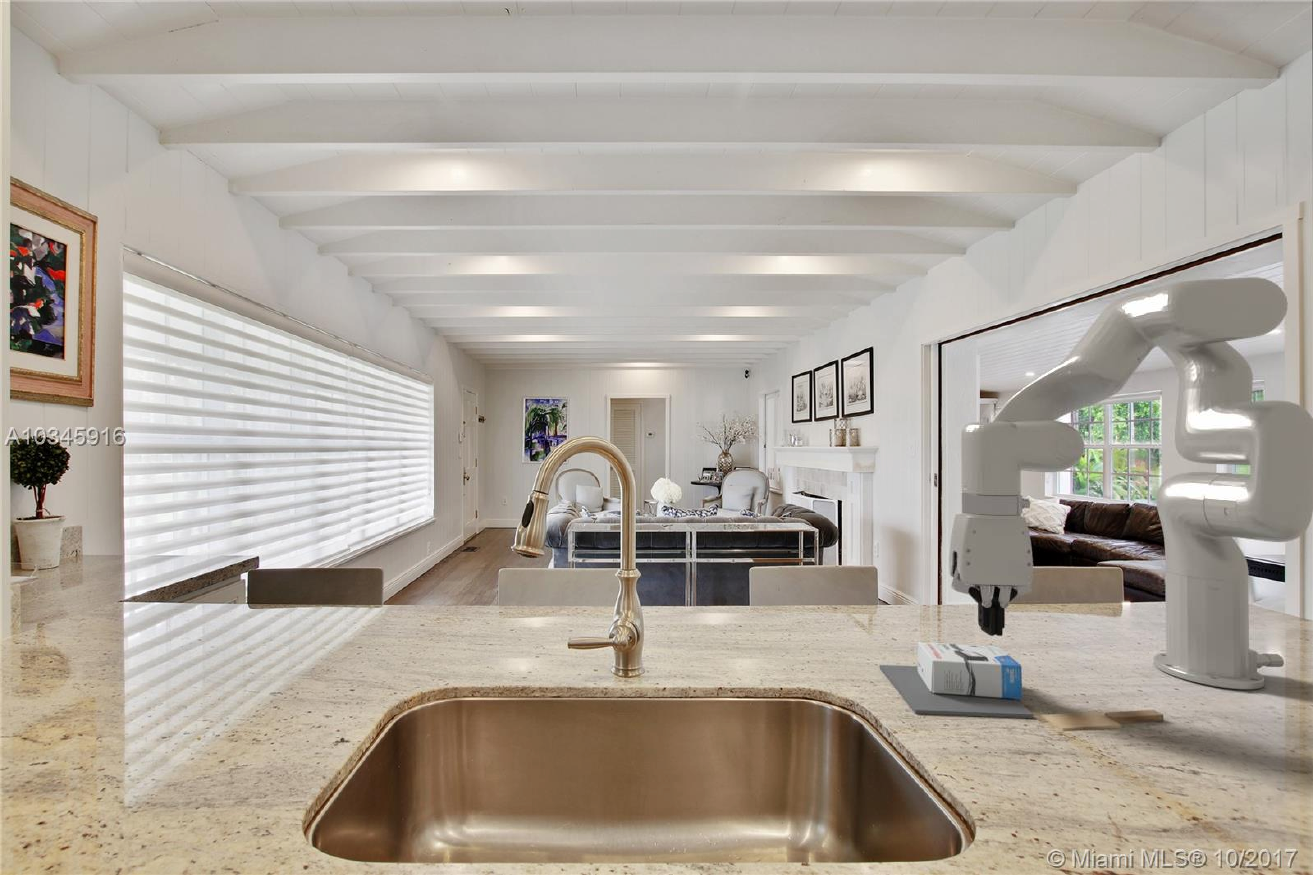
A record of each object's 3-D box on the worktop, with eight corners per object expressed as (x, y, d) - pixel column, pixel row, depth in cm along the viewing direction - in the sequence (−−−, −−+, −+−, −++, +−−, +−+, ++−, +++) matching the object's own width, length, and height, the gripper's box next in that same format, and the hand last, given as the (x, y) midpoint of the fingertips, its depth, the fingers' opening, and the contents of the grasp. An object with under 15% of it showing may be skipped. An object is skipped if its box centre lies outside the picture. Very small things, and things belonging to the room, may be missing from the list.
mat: (976, 671, 93) (976, 668, 93) (1033, 718, 77) (1033, 714, 77) (879, 668, 94) (879, 665, 94) (915, 713, 78) (915, 709, 78)
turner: (1145, 712, 78) (1145, 706, 78) (1171, 725, 75) (1171, 718, 75) (1041, 718, 77) (1041, 712, 77) (1062, 731, 73) (1062, 725, 73)
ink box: (1023, 665, 81) (931, 659, 83) (1023, 701, 81) (932, 694, 83) (998, 644, 89) (916, 640, 91) (998, 677, 89) (916, 671, 91)
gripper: (1030, 504, 88) (1030, 626, 88) (927, 503, 89) (928, 623, 89) (1060, 510, 81) (1061, 643, 80) (948, 508, 82) (948, 640, 82)
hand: (991, 632), depth 85 cm, fingers closed
